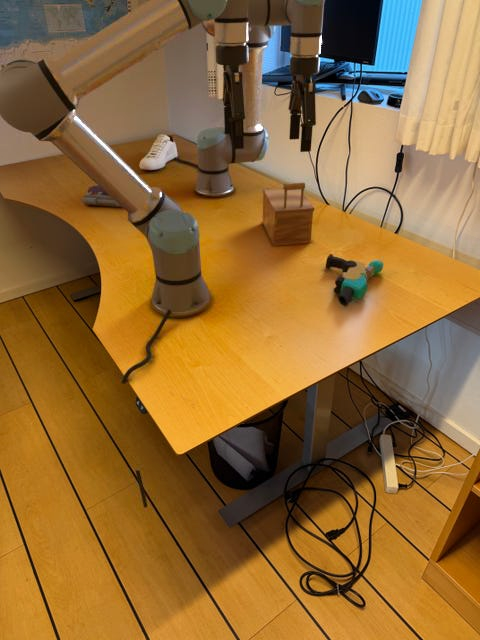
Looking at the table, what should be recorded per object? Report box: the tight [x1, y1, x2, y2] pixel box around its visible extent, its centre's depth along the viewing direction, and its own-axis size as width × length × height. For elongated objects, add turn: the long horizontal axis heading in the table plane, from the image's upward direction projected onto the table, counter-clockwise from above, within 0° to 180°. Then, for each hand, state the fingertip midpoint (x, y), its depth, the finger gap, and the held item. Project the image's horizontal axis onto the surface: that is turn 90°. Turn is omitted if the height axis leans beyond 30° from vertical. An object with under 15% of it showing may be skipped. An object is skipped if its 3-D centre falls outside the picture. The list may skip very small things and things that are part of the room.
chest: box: [262, 191, 314, 247], centre depth 156 cm, size 18×12×11 cm
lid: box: [262, 182, 315, 214], centre depth 149 cm, size 18×12×8 cm, turn 9°
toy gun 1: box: [81, 184, 122, 208], centre depth 181 cm, size 4×19×15 cm
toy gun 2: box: [325, 253, 385, 307], centre depth 130 cm, size 4×26×15 cm
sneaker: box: [139, 133, 179, 171], centre depth 214 cm, size 10×29×12 cm, turn 163°
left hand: (233, 140), depth 120 cm, fingers open, 13 cm apart
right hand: (299, 145), depth 132 cm, fingers open, 11 cm apart
